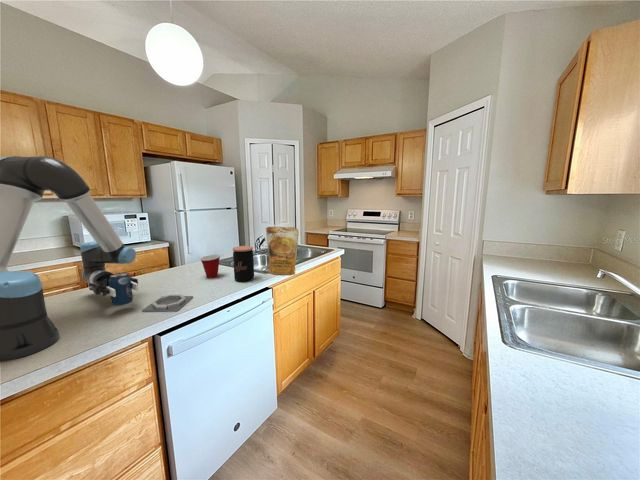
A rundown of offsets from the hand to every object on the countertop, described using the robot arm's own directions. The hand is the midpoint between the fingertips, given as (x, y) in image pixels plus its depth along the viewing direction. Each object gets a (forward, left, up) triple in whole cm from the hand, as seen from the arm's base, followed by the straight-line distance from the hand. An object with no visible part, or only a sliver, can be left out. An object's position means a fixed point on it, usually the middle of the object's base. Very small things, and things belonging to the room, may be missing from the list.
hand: (126, 290), depth 99 cm
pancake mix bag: (+55, +51, -10) cm, 75 cm away
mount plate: (+11, +9, -10) cm, 17 cm away
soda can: (-4, +3, -7) cm, 8 cm away
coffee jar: (+35, +41, -10) cm, 54 cm away
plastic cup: (+15, +46, -10) cm, 49 cm away
